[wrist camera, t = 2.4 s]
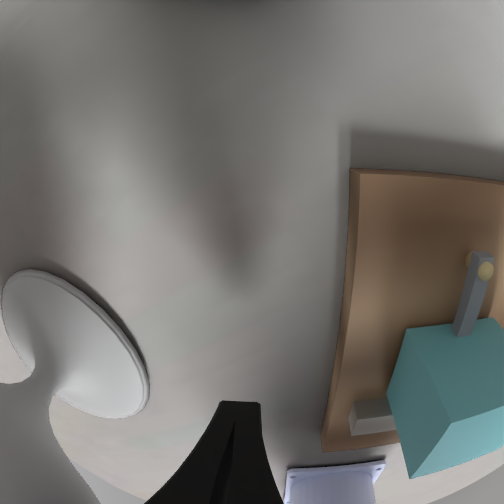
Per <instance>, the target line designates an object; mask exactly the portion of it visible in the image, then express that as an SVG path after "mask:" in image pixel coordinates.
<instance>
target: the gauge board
mask: <svg viewBox="0 0 504 504" xmlns="http://www.w3.org/2000/svg"><path fill="white" fill-rule="evenodd" d="M472 251H475V252H477V251H487V252H488V253H489V254H491V255H492V256H493V257H495V258H494V262H493V267H494V272H493V275H492V277H491V278H490V279H489V282H488V285H487V289H486V292H485V296H484V299H483V302H482V305H481V308H480V311H479V314H478V317H477V320H478V319H484V318H490V317H493V318H494V319H495V320H496V321H497V322H498V323H499V324H500V326H501V327H502V328H503V329H504V181H497V180H490V179H483V178H476V177H467V176H459V175H450V174H439V173H428V172H416V171H401V170H384V169H360V168H350V194H349V222H348V240H347V255H346V268H345V280H344V290H343V300H342V309H341V318H340V326H339V333H338V341H337V348H336V355H335V361H334V367H333V374H332V379H331V385H330V391H329V396H328V402H327V407H326V412H325V417H324V422H323V426H322V431H321V442H322V452H332V451H343V450H353V449H361V448H369V447H376V446H382V445H388V444H394V443H399V442H400V440H399V436H398V432H397V429H396V425H395V422H394V418H393V415H392V411H391V408H390V405H389V401H388V398H387V395H386V392H387V389H388V387H389V384H390V381H391V378H392V375H393V372H394V369H395V366H396V363H397V359H398V356H399V353H400V349H401V346H402V343H403V339H404V335H405V332H406V329H408V328H418V327H427V326H436V325H444V324H451V323H453V322H454V319H455V316H456V313H457V309H458V306H459V302H460V299H461V295H462V292H463V288H464V284H465V280H466V276H467V272H468V267H467V266H466V264H465V259H466V256H467V255H468V254H469V253H470V252H472Z"/></svg>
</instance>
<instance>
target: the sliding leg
mask: <svg viewBox="0 0 504 504" xmlns="http://www.w3.org/2000/svg"><path fill="white" fill-rule="evenodd" d="M494 258H495V257H493V256H492V255H491V254H489V253H488V252H487V251H477V252H475V251H472V252H470V253H469V254H468V255H467V256H466V259H465V264H466V266H467V267H468V272H467V276H466V280H465V284H464V288H463V292H462V295H461V299H460V302H459V306H458V309H457V313H456V316H455V319H454V322H453V323H451V324H444V325H436V326H427V327H418V328H408V329H406V332H405V335H404V339H403V343H402V346H401V349H400V353H399V356H398V359H397V363H396V366H395V369H394V372H393V375H392V378H391V381H390V384H389V387H388V389H387V392H386V395H387V398H388V401H389V405H390V408H391V411H392V415H393V418H394V422H395V425H396V429H397V432H398V436H399V440H400V443H401V447H402V451H403V455H404V459H405V463H406V467H407V471H408V475H409V479H412V478H416V477H420V476H423V475H427V474H431V473H434V472H437V471H441V470H444V469H447V468H450V467H453V466H456V465H459V464H462V463H465V462H467V461H470V460H473V459H475V458H478V457H480V456H483V455H485V454H487V453H490V452H492V451H494V450H497V449H499V448H501V447H502V446H503V445H504V329H503V328H502V327H501V326H500V324H499V323H498V322H497V321H496V320H495V319H494V318H493V317H490V318H484V319H478V320H477V317H478V314H479V311H480V308H481V305H482V302H483V299H484V296H485V292H486V289H487V285H488V282H489V279H490V278H491V277H492V275H493V272H494V267H493V262H494Z"/></svg>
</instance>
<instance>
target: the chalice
mask: <svg viewBox="0 0 504 504" xmlns="http://www.w3.org/2000/svg"><path fill="white" fill-rule="evenodd" d="M1 306H2V317H3V321H4V325H5V329H6V332H7V334H8V336H9V339H10V341H11V343H12V345H13V347H14V349H15V351H16V352H17V354H18V356H19V357H20V359H21V360H22V362H23V363H24V364H25V366H26V367H27V368H28V369H29V371H30V372H31V373H32V374H31V376H30V377H28V378H27V379H25V380H24V381H22V382H19V383H13V384H5V383H0V504H100V502H99V500H98V499H97V497H96V496H95V494H94V493H93V491H92V490H91V488H90V487H89V485H88V484H87V483H86V482H85V480H84V479H83V478H82V476H81V475H80V474H79V473H78V471H77V470H76V469H75V467H74V466H73V465H72V463H71V462H70V460H69V459H68V457H67V456H66V454H65V453H64V451H63V450H62V448H61V447H60V445H59V443H58V441H57V440H56V438H55V436H54V434H53V431H52V428H51V425H50V421H49V405H50V402H51V399H52V396H53V395H56V396H57V397H59V398H60V399H62V400H63V401H65V402H66V403H68V404H69V405H71V406H73V407H75V408H77V409H79V410H81V411H83V412H86V413H89V414H92V415H95V416H99V417H104V418H127V417H130V416H133V415H136V414H138V413H139V412H140V411H142V410H143V409H144V408H145V406H146V404H147V402H148V400H149V393H150V384H149V380H148V376H147V373H146V369H145V367H144V365H143V363H142V361H141V359H140V357H139V355H138V353H137V351H136V349H135V348H134V346H133V345H132V344H131V342H130V341H129V339H128V338H127V337H126V335H125V334H124V332H123V331H122V330H121V329H120V327H119V326H118V325H117V324H116V323H115V322H114V321H113V320H112V319H111V318H110V317H109V315H108V314H107V313H106V312H105V311H104V310H103V309H102V308H101V307H100V306H98V305H97V304H96V303H95V302H94V301H93V300H91V299H90V298H89V297H88V296H87V295H86V294H85V293H83V292H82V291H80V290H79V289H77V288H76V287H74V286H73V285H71V284H70V283H68V282H67V281H65V280H64V279H61V278H59V277H57V276H54V275H52V274H50V273H48V272H45V271H39V270H33V269H26V270H21V271H17V272H16V273H14V274H13V275H12V276H10V277H9V278H8V280H7V282H6V284H5V285H4V287H3V292H2V298H1Z"/></svg>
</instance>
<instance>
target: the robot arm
mask: <svg viewBox="0 0 504 504" xmlns="http://www.w3.org/2000/svg"><path fill="white" fill-rule="evenodd" d="M385 466H386V461H384V460H381V461H374V462H368V463H360V464H352V465H343V466H332V467H319V468H294V469H289V470H288V471H287V478H286V487H285V496H284V503H283V501H282V498H281V496H280V494H279V491H278V489H277V486H276V483H275V481H274V478H273V475H272V472H271V469H270V465H269V462H268V459H267V455H266V451H265V447H264V442H263V437H262V424H261V407H260V404H259V403H258V402H240V401H221V402H220V403H219V405H218V408H217V410H216V412H215V414H214V416H213V418H212V420H211V421H210V423H209V425H208V427H207V428H206V430H205V432H204V434H203V435H202V437H201V438H200V440H199V441H198V443H197V444H196V446H195V447H194V449H193V450H192V452H191V453H190V454H189V456H188V457H187V458H186V460H185V461H184V462H183V464H182V465H181V466H180V468H179V469H178V470H177V471H176V472H175V474H174V475H173V476H172V477H171V478H170V479H169V480H168V481H167V482H166V483H165V484H164V486H163V487H162V488H161V489H160V490H159V491H157V492H156V493H155V494H154V495H153V496H152V497H151V498H150V499H149V500H148V501H147V502H145V503H144V504H376V502H375V494H374V488H373V484H374V482H375V481H376V479H377V478H378V476H379V475H380V473H381V472H382V471H383V469H384V468H385Z"/></svg>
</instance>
